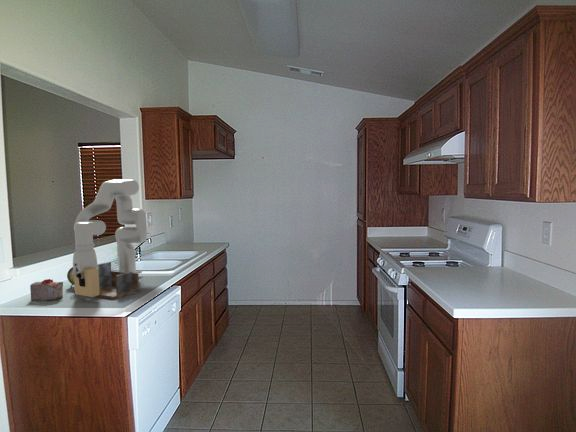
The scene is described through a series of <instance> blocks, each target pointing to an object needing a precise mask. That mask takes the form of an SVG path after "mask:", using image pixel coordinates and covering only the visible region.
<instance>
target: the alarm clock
mask: <svg viewBox="0 0 576 432" xmlns="http://www.w3.org/2000/svg"><path fill="white" fill-rule="evenodd" d="M72 272H73V266H72V267H70V268H69V270H68V272H67V274H66V276H67V277H66V278H67V281H68V282H69V284H71V285H70V288H72V287H73V286H75V282H74V275H72Z"/></svg>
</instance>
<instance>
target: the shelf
mask: <svg viewBox="0 0 576 432" xmlns="http://www.w3.org/2000/svg"><path fill="white" fill-rule="evenodd" d="M97 265H98V266H99V269H98V274H99V292H100V295H97V296H94V297H93V298H101V299H107V300H113V301H115V300H116V299H120V298H123V297H126V296H130V295H133V294H135V292H136V293H138V291H139V292H140V285H139V278H140V277H139V278H138V276H139V274H137V273H133V272H129V273H128V272H120V271H118V270H112V262H111V261H106V262H100V263H97ZM132 293H133V294H132Z"/></svg>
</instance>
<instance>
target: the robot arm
mask: <svg viewBox="0 0 576 432" xmlns="http://www.w3.org/2000/svg"><path fill="white" fill-rule="evenodd" d="M139 189H140V185H139V183H138V181H137V180H135V179H111V180H107V181H103V182H102V184H100V187H99V189H98V191H97V194H96V196H95V199H94V200H93V202H92V203H90V204H88V205H87V206H85V207H84V208H83V209H82V210H81V211H80V212H79V213H78V214H77V216H76V219H75V220H74V225H73V231H74V243H75V251H74V252H73V255H72V267H73V272H72V275H75V276H76V277H77V278H79V285H80V286H82V287H85V278H84V272H85V269H90V268H98V269H99V266H98V265H97V264H98V260H97V259H98V258H97V252H96V249H94V247H95V246H96V244H95V243H94V236H100V235H103V234H104V233H105V232H106V230H107V225H106V223H105V222H104V221H103V220H99V219H98V220H97V219H94V220H93V219H91V218H93V217H95V216H97V215H100V214H103V213H106V212H108V211H110V210H111V208H112V205H113V204H114V201H115V202H116V217H117V218H116V219H117V222H118V224H120V225H127V226H121V227H118V228H117V229H116V231H115V233H114V235H115V240H116V241H115V242H116V247H117V263H118V264H117V268H118V270H117V271H120V272H128V273H129V272H133V273H137V274H138V278H140V276H139V275H140V274H142V273H143V271H142V270H141V269H140V270H137V269H136V268H137V267H136V265H137V264H136V249H135V247H134V245H133V244H139V243H141V244H143V243H144V242H146V241H147V237H148V231H147V228H148V227H147V216H146V215H147V214H146V211H144V209H142V208H133V199H132V197H131V196H134V195H137V193H138V192H139ZM129 225H130V226H129ZM131 225H134V226H131ZM77 272H78V273H77Z"/></svg>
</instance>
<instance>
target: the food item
mask: <svg viewBox="0 0 576 432" xmlns="http://www.w3.org/2000/svg"><path fill="white" fill-rule="evenodd" d="M63 286H64V282H63V281H54V279H50V278H49V279H44V280H42V281H35V282H33V283H31V284H30V285H29V287H30V288H29V289H30V301H43V302H44V301H55V300H58V299H61V298H63V295H64V294H63V293H64V292H63V291H64V289H63Z"/></svg>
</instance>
